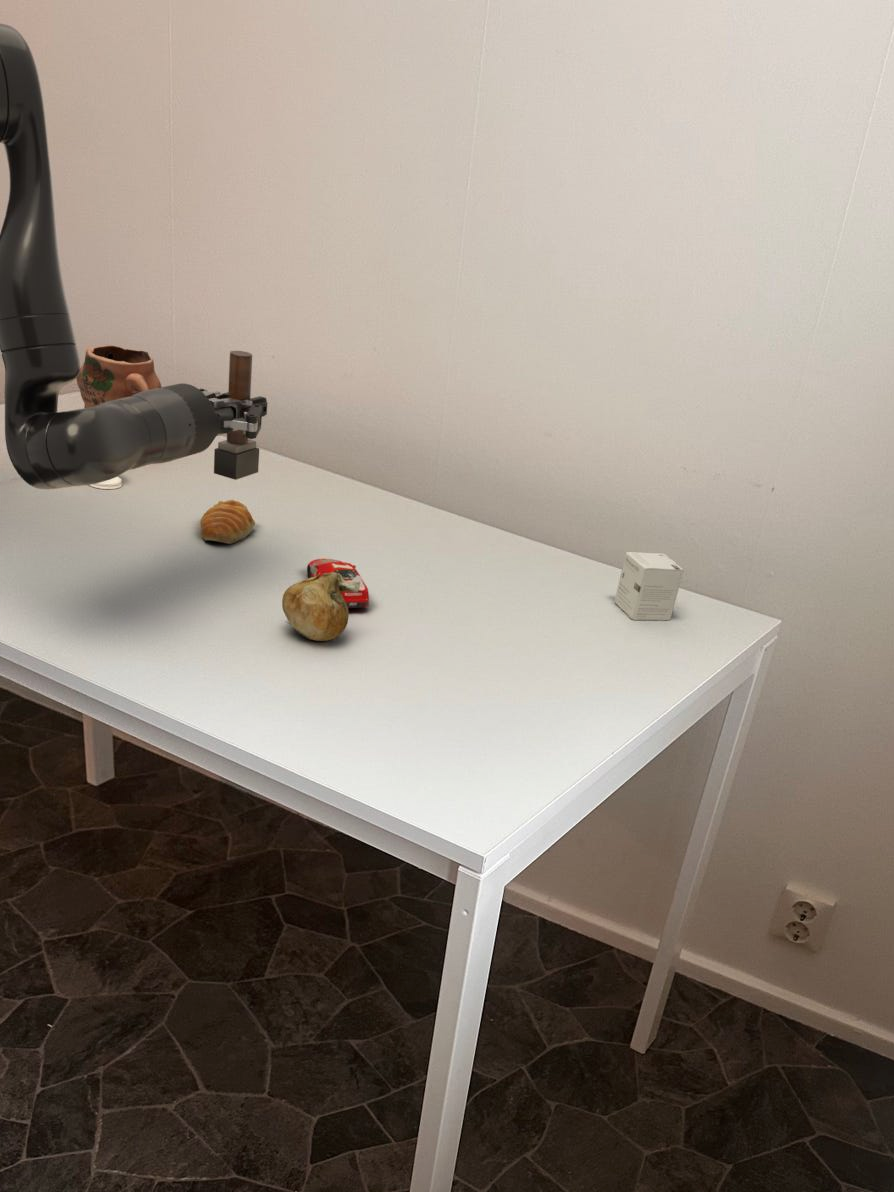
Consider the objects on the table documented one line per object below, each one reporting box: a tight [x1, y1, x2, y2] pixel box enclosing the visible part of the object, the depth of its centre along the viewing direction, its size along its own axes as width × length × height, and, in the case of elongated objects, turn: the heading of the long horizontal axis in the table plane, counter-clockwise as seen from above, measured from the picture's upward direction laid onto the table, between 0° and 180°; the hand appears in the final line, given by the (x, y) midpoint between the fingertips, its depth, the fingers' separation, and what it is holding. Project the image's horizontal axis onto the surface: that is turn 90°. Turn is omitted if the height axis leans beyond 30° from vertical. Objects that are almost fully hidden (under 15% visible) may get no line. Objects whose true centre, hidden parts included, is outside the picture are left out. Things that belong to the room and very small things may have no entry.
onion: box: [281, 572, 360, 642], centre depth 135 cm, size 8×8×8 cm
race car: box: [306, 558, 370, 609], centre depth 148 cm, size 13×5×4 cm, turn 22°
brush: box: [213, 350, 260, 481], centre depth 142 cm, size 5×3×14 cm, turn 156°
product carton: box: [614, 551, 684, 621], centre depth 159 cm, size 6×6×7 cm
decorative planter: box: [76, 344, 162, 409], centre depth 184 cm, size 20×12×14 cm, turn 42°
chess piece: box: [89, 476, 123, 490], centre depth 169 cm, size 5×5×10 cm
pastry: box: [200, 499, 256, 545], centre depth 160 cm, size 9×7×4 cm
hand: (252, 402), depth 144 cm, fingers closed on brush, 2 cm apart
